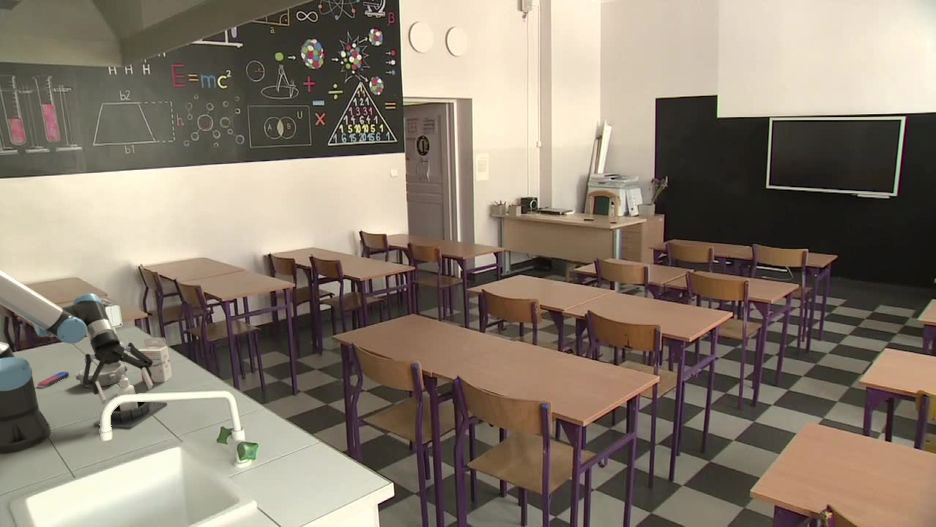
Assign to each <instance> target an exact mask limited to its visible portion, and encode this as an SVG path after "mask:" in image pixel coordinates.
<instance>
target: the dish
mask: <svg viewBox="0 0 936 527" xmlns="http://www.w3.org/2000/svg"><path fill="white" fill-rule="evenodd" d="M128 369H129V368H128V365H127V364H123V362H122V361H119V362H117V363H112V364H110V365H108V364H104V366H103V368H102V370H101V372H100V374H99V376H98V378H97V380H96V381H98V382H99V384H100V386H101V387H106V386H109V385H113V384H115V383H118V382H119V380H121V377H122V375H124V376H125V377H126V376H127V375H126V372H128ZM84 372H85V369H81V370H80V371H79V372H77V373H76V374H75V375H74V377H75V379H76V380H77V381H79V382H80V385H82V382H83V377H84ZM94 372H95V371H92V372H90V371H89V376H88V380H91V378H92V376H93V374H94ZM83 387H84V388H90V387H89V386H83Z"/></svg>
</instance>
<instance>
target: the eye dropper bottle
mask: <svg viewBox="0 0 936 527" xmlns="http://www.w3.org/2000/svg"><path fill="white" fill-rule="evenodd" d="M118 382H119V386H120V387H119V389H118V390H117V394H116V395H117V397H118V396H120V395H124V394H136V391H135V386H134V385H132V384H130V382H129V378H128V377H126V375H125V376H124V375H122V377H121V380H119V381H118ZM119 406H120V411H121V412H122V411H129V410H132V409H135V408H138V404H137V402H130V403H124V404H121V405H119Z"/></svg>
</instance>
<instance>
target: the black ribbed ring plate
mask: <svg viewBox="0 0 936 527" xmlns="http://www.w3.org/2000/svg"><path fill="white" fill-rule="evenodd" d="M137 404H138V408H135V409H132V410H129V411H122V412H121V411H120V406H118V407H117V408H116V409H115V410H114V411H113V413H112V415H111V425H112V427H111V428H121V429H123V428H126V429H132V428H134V427H136V426H138V425H139V424H141V423H142V422H143V421H145V420H146V419H148V418H150V417H152V416H153V415H154V414H156V413H157V412H158V411H161V410H162V409H163V408H165V407H167V406H168V402H161V401H150V402H137ZM99 424H100V419H99V420H97V421H95V422H94V423H93V426H94V427H100V426H99Z"/></svg>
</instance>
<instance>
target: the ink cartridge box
mask: <svg viewBox="0 0 936 527" xmlns="http://www.w3.org/2000/svg"><path fill="white" fill-rule="evenodd" d="M143 340H144V346H143V347H140V348H139V349H138V350H139V351H140V352H142V353H143V354H144V355H146V356H147V357H148V358H150V359H151V360H152V361H153V364H152V366H151V367H149V369H150V372H151V374H152V376H151V378H150V379H151V381H152V383H165V382H167V381H169V380H170V379H171V378H172V377H173V375H172V374H173V373H172V368H171V362H170V361H171V360H170V356H169V348H168V344H167V340H166V338H165V337H144V338H143ZM154 341H156V342H154ZM141 371H142V369H140V374H141V380H142V382H143V383H146V382H145V379H144V377H143V375H142V373H141Z"/></svg>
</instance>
